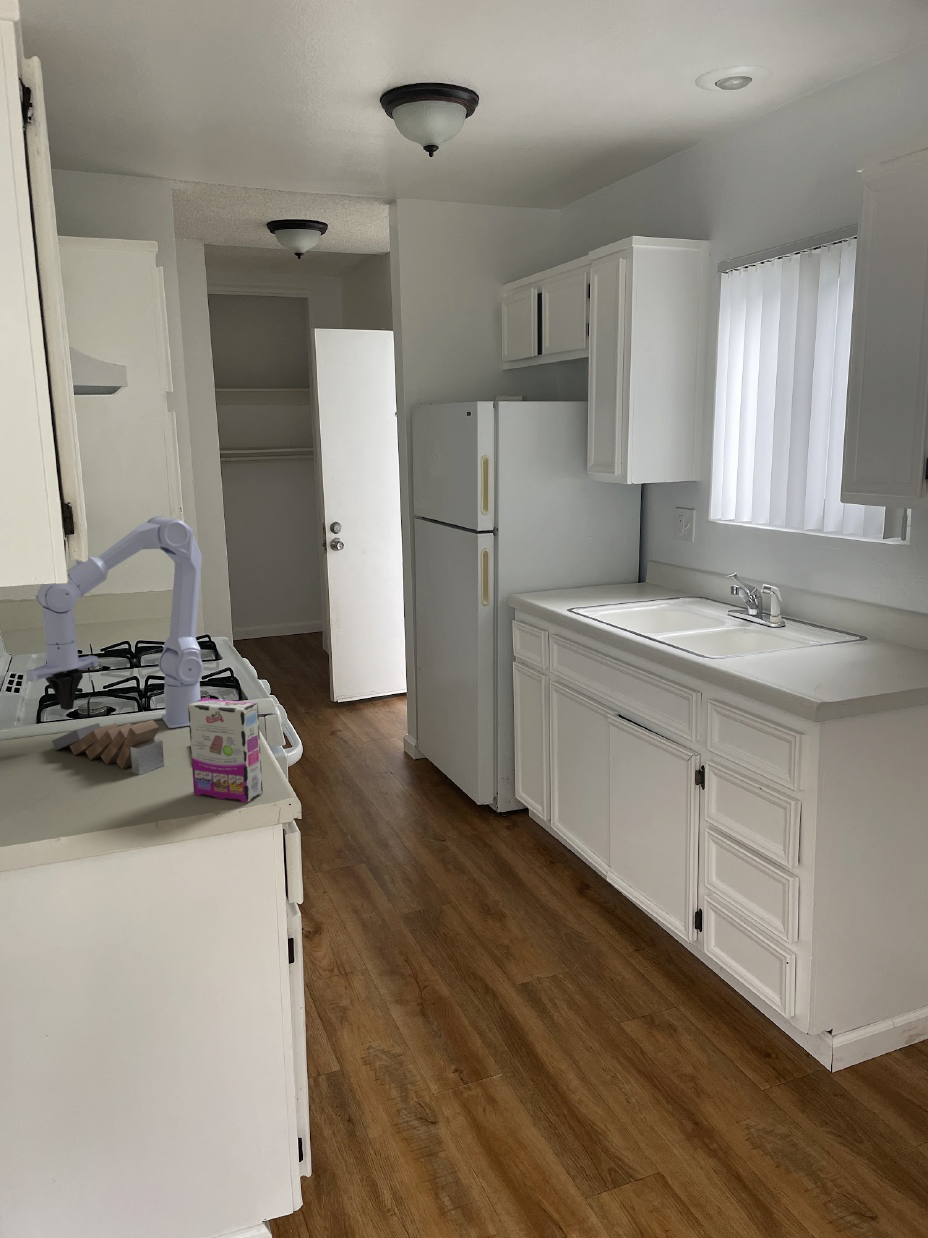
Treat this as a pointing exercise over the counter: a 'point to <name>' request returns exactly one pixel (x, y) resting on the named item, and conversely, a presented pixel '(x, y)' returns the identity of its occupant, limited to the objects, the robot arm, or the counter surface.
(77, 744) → the domino
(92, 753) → the domino
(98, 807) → the counter surface
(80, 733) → the domino
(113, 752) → the domino
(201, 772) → the candy bar box
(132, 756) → the block
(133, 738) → the domino
